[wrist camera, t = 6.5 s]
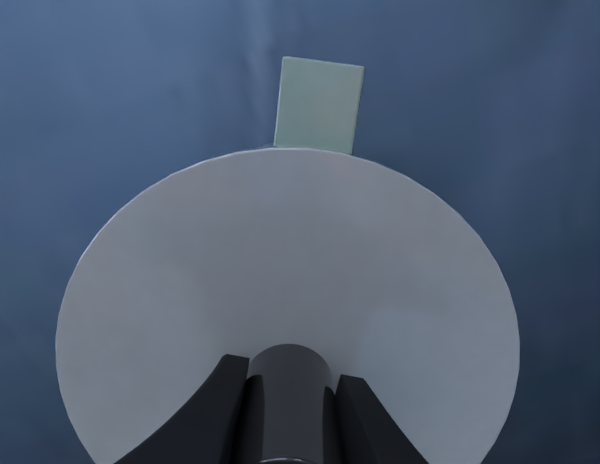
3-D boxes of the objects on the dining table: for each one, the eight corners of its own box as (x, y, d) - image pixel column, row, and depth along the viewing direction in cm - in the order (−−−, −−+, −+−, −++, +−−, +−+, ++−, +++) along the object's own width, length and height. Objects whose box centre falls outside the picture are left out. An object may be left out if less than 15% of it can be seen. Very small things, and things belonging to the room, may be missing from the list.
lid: (62, 489, 15) (-56, 686, 10) (90, 95, 11) (-75, 94, 6) (431, 546, 15) (494, 754, 11) (568, 196, 12) (759, 267, 7)
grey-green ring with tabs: (148, 435, 21) (111, 520, 17) (158, 48, 16) (108, 30, 12) (391, 457, 21) (414, 546, 17) (473, 88, 16) (534, 85, 12)
